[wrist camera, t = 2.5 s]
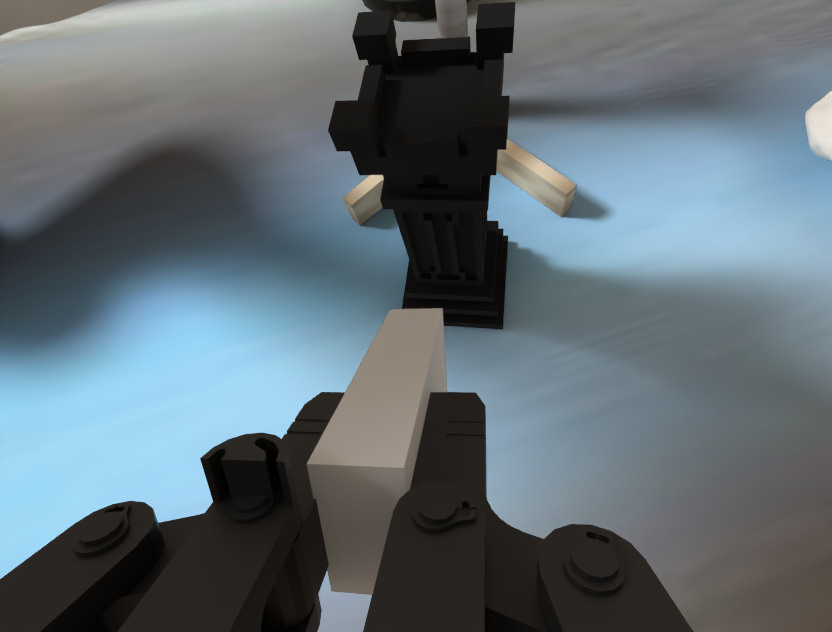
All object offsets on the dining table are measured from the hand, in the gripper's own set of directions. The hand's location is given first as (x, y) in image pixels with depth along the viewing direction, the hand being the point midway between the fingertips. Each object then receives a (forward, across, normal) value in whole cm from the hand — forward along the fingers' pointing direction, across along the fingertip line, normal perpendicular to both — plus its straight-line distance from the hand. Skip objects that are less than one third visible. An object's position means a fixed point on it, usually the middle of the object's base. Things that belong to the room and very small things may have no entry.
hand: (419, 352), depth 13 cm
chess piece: (+24, -1, -6) cm, 25 cm away
